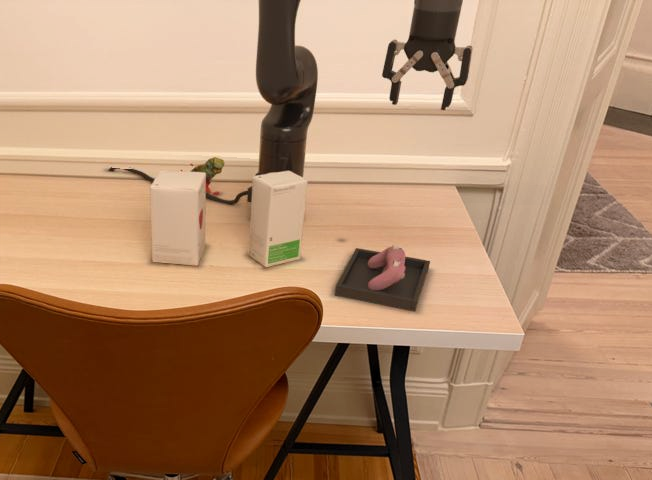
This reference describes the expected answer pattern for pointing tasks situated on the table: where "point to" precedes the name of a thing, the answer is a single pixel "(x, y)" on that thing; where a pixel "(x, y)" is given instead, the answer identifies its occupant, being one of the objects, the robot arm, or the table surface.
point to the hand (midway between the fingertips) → (418, 106)
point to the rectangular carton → (178, 217)
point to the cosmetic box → (277, 217)
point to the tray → (395, 295)
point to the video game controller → (387, 268)
